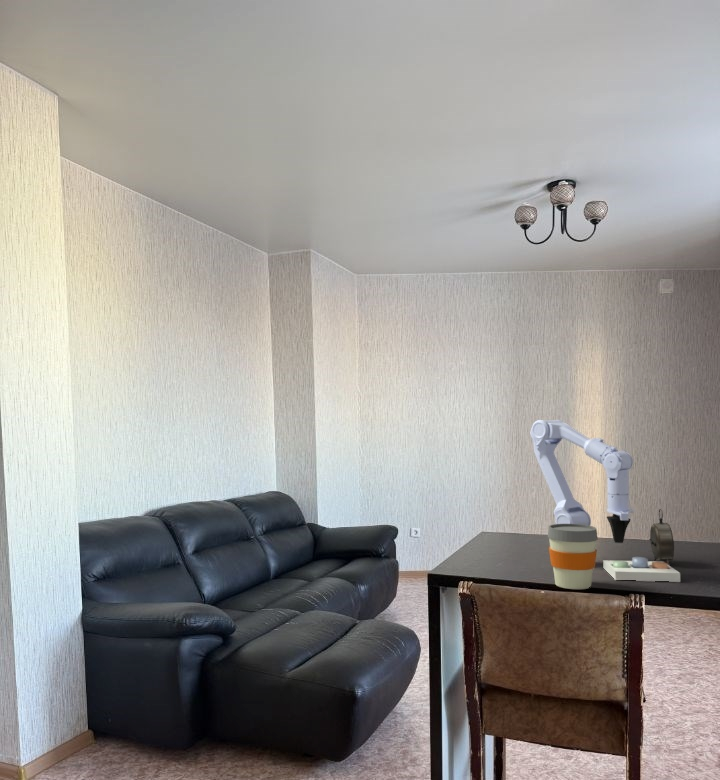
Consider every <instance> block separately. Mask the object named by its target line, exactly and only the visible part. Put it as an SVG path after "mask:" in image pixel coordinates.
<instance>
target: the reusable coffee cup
mask: <svg viewBox="0 0 720 780" xmlns="http://www.w3.org/2000/svg"><path fill="white" fill-rule="evenodd" d="M547 538H548V540H549V546H548V553H549V559H550V565H551V566H552V569H553V574H554V576H553V577H554V584H555V585H556V587H559V588H563V589H569V590H586V589H590V588H591V587H590V586H592V581H593V572H594V569H595V568H596V562H597V553H598V552H597V551H598V550H597V549H596V546H597V541H598V531H597V528H596V527H595V526H592V525H590V526H589V525H582V524H556V523H555V524H554V523H553V524H549V525H548V529H547ZM589 587H590V588H589Z"/></svg>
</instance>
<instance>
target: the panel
mask: <svg viewBox="0 0 720 780" xmlns="http://www.w3.org/2000/svg"><path fill="white" fill-rule="evenodd" d="M602 561H603V562H602V564H603V565H602V567H603V568H604V569H605V570H606V571H607V572H608V573H609V574H610V575H611V576H612V577H613V578H614V579H613V578H612V577H611V576H610V575H609V574H608V573H607V574H608V575H609V576H610V577H611V578H612V579H613V580H614V581H616V580H636V581H635V582H655V581H669V582H668V583H681V572H679V571H678V570H676V569H675V568H673V567H672V566H669V565H670V564H669V565H668V569H653V568H652V562H658V560H656V561H654V560H653V561H652V560H651V561H648V568H633V567H632V560H624V561H625V562H628V568H614V567H613V561H614V560H606V559H605V560H602ZM663 562H664V561H663ZM664 563H666V562H664ZM604 569H603V570H604ZM605 570H604V571H605ZM606 571H605V572H606Z"/></svg>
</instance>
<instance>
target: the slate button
mask: <svg viewBox="0 0 720 780" xmlns="http://www.w3.org/2000/svg"><path fill="white" fill-rule="evenodd" d="M648 560H649V559H648V557H644V556H643V557H642V556H632V558H631V561H632V567H633V568H648Z"/></svg>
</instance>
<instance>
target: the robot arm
mask: <svg viewBox="0 0 720 780" xmlns="http://www.w3.org/2000/svg"><path fill="white" fill-rule="evenodd" d="M529 434H530V437H531V439H532V444H533V452H534V456H535V458H536V460H537V462H538V465H539V467H540V470H541V472H542V474H543V477H544V479H545V481H546V484H547V486H548V488H549V491H550V493H551V495H552V498H553V500H554V502H555V505H556V506H555V508H554V510H553V515H554V519H555V521H554V522H555V524H582V525H589V526H592V525H591V524H592V519H591V515H590V514H589V513H588V511H586V509H585V508H584V507H583V505H582V503H580V502H579V501H577V500H576V499H575V498H574V496H573V494H572V491H571V488H570V486H569V484H568V482H567V480H566V478H565V476H564V473H563V470H562V468H561V466H560V463H559V462H558V459H557V458H556V455H555V451H556V449H557V447H558V446H559V444H560V443H561V442H562V440H563V439H564V440H566V441H568V442H570V443H572V444H574V445H576V446H578V447H579V448H581V449H583V450H584V453H585V455H586V456H587V457H589V458H591V459H593V460H595V461H596V462H598V463H600V464H601V465H602V466H603V468H604V469H605V471H606V473H605V474H606V475H605V476H606V478H607V479H606V481H607V482H606V484H607V487H606V489H607V492H606V493H607V498H606V499H607V508H606V513H609V514H612V515H611V516H610V515H607V516H606V520H607V521H608V524H609V526H610V530H611V533H612V538H613V542H614V543H615V544H624V540H625V537H626V532H627V528H628V526H629V524H630V522H631V519H630V518H629V515H630V514H631V513H632V514H634V511H635V510H634V509H630V469H632V467H633V464H634V461H633V456H632V455H631V454H630V453H629V452H628V451H627V450H618V449H617V447H616V446H612V445H609V444H608V443H605V441H604V438H602V437H598V438H597V437H593V438H589V437H587V436H586V435H584V434H582V433H581V432H579V431H578V430H577V429H575V428H573V427H572V426H571V425H569V424H568V423H566V422H563V420H560V419H553V420H552V419H551V420H549V419H548V420H546V419H545V420H542V419H538V420H536V421H534V423H533V424H532V426H531V429H530V432H529Z"/></svg>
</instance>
